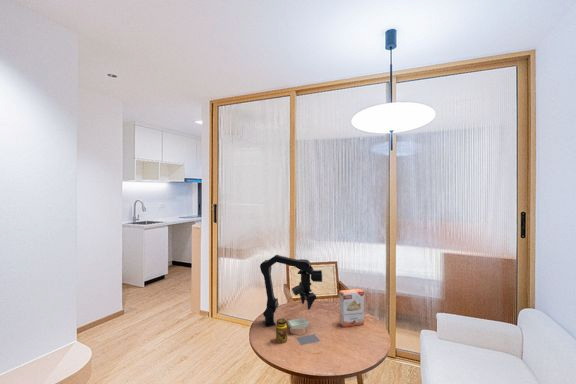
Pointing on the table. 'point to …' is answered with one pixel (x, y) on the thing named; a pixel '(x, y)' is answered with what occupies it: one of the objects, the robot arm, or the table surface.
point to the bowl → (298, 331)
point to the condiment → (281, 331)
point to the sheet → (298, 323)
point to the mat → (307, 339)
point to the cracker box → (351, 307)
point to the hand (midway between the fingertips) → (305, 306)
